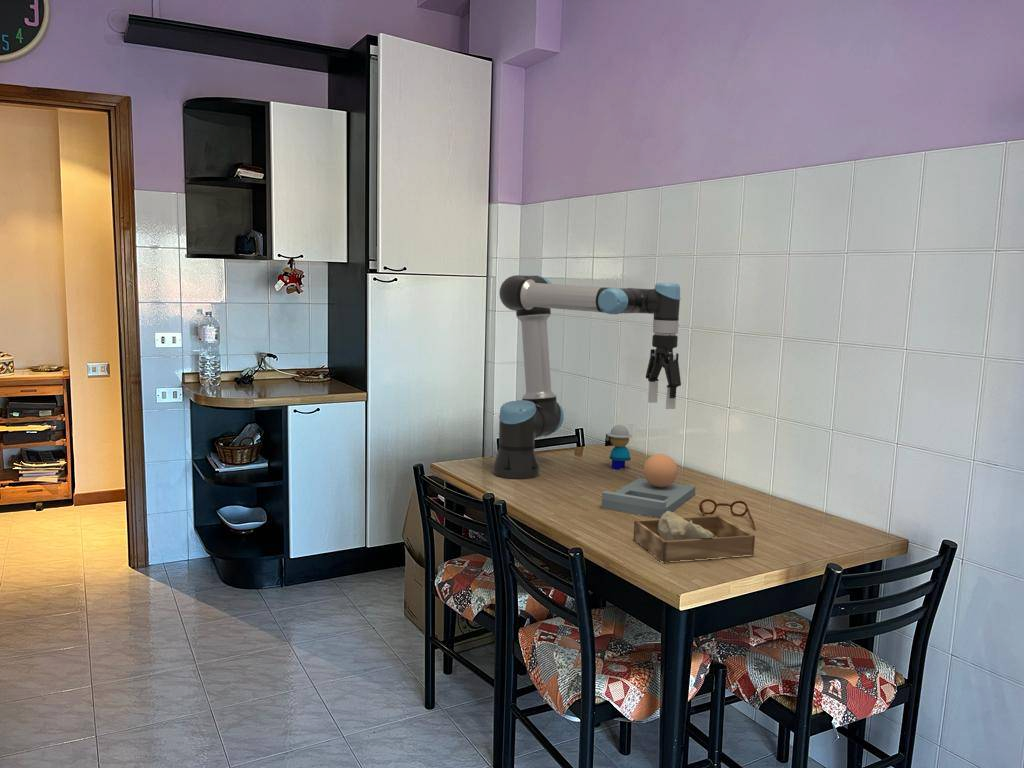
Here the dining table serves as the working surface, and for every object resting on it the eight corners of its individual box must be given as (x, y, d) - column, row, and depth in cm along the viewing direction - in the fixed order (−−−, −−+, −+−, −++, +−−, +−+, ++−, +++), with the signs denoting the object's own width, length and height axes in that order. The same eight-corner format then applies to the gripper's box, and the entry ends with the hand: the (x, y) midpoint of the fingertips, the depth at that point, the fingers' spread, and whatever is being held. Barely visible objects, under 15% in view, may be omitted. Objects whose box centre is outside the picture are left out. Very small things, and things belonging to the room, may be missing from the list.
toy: (612, 463, 279) (614, 421, 277) (634, 467, 273) (637, 425, 272) (600, 468, 272) (602, 424, 270) (623, 472, 267) (625, 428, 265)
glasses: (746, 517, 220) (747, 500, 220) (756, 532, 207) (757, 514, 207) (698, 515, 222) (699, 497, 221) (705, 529, 209) (706, 511, 208)
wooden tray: (633, 540, 197) (634, 520, 196) (717, 534, 203) (718, 515, 203) (663, 563, 181) (664, 542, 181) (753, 556, 188) (754, 536, 187)
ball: (637, 483, 243) (638, 451, 241) (666, 482, 245) (668, 450, 244) (651, 492, 233) (653, 458, 232) (682, 490, 236) (684, 457, 234)
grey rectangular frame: (638, 485, 250) (639, 471, 249) (695, 494, 241) (695, 480, 241) (601, 508, 224) (602, 492, 223) (663, 519, 215) (663, 502, 215)
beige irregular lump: (655, 546, 201) (642, 523, 189) (671, 522, 203) (659, 498, 191) (708, 577, 192) (697, 555, 180) (724, 553, 194) (715, 529, 182)
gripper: (695, 337, 230) (691, 411, 233) (658, 331, 252) (655, 399, 255) (672, 337, 228) (668, 412, 230) (637, 331, 250) (633, 399, 253)
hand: (661, 405), depth 243 cm, fingers open, 11 cm apart
